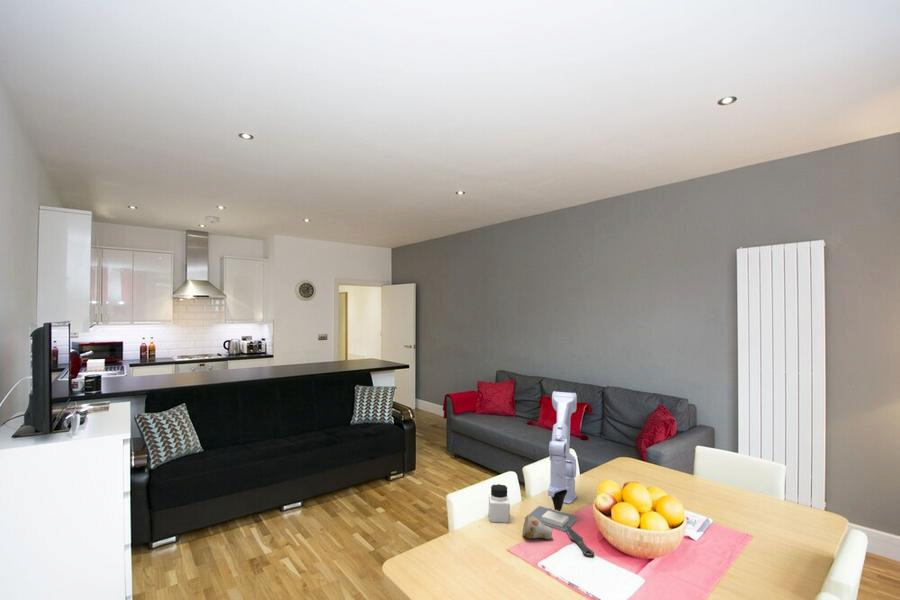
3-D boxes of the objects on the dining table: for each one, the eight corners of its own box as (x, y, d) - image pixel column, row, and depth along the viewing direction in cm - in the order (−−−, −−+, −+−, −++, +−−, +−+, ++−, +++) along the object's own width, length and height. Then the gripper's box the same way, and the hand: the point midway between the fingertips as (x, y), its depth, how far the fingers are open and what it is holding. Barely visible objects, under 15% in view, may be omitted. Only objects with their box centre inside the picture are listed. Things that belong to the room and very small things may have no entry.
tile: (548, 510, 160) (541, 516, 155) (568, 516, 155) (562, 522, 151) (548, 515, 160) (541, 521, 155) (568, 521, 155) (562, 527, 150)
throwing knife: (584, 557, 132) (584, 555, 132) (558, 525, 152) (559, 523, 152) (597, 556, 133) (597, 554, 133) (570, 524, 152) (570, 523, 152)
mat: (539, 506, 168) (539, 505, 168) (578, 518, 158) (578, 517, 158) (524, 518, 157) (524, 517, 157) (566, 532, 148) (566, 531, 148)
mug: (555, 544, 140) (542, 520, 139) (529, 553, 143) (515, 528, 142) (554, 528, 147) (541, 504, 146) (529, 536, 150) (516, 513, 149)
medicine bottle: (509, 522, 154) (509, 489, 154) (489, 522, 154) (490, 489, 155) (507, 513, 161) (507, 482, 162) (488, 513, 161) (489, 481, 162)
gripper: (561, 481, 150) (561, 520, 149) (575, 470, 162) (575, 506, 161) (542, 476, 154) (542, 514, 154) (557, 466, 166) (557, 501, 165)
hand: (558, 509), depth 158 cm, fingers closed
